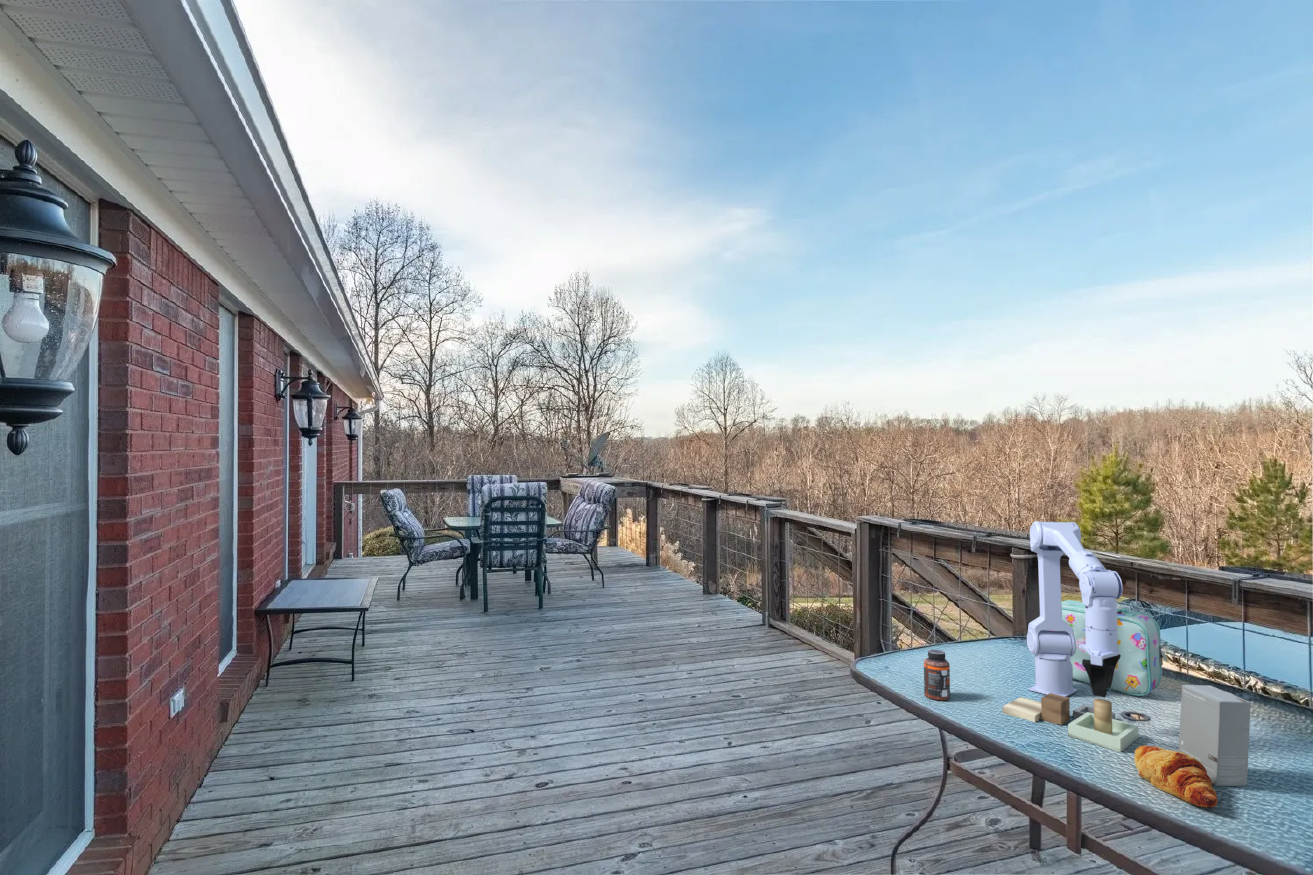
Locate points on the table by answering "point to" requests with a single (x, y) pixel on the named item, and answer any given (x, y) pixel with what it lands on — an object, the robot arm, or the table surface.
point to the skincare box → (1216, 732)
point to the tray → (1117, 741)
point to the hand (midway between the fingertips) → (1102, 691)
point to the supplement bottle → (936, 676)
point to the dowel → (1103, 716)
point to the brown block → (1055, 708)
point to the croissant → (1176, 774)
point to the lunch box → (1122, 649)
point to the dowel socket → (1085, 711)
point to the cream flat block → (1024, 709)
